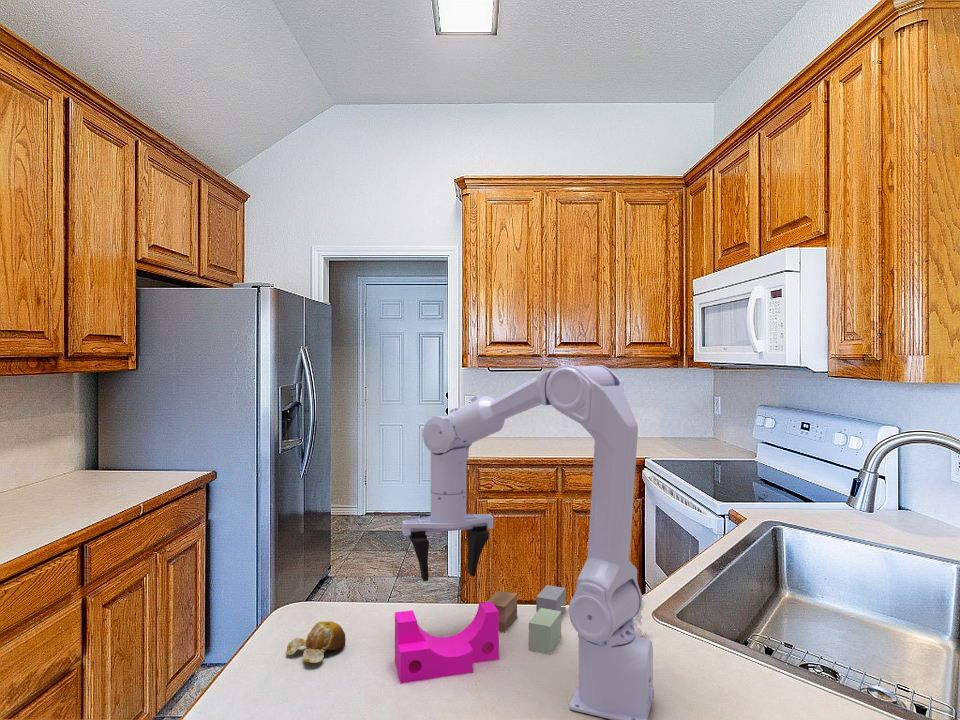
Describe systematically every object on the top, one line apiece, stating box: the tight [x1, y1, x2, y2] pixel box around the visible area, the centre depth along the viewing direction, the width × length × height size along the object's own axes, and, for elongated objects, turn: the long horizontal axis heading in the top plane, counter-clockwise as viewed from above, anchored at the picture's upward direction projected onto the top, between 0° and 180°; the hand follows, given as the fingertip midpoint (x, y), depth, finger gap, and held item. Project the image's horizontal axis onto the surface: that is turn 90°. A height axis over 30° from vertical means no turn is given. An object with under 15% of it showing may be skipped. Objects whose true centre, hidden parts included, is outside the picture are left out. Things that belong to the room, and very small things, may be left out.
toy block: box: [394, 601, 500, 684], centre depth 86 cm, size 15×6×8 cm, turn 106°
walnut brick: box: [486, 590, 518, 633], centre depth 100 cm, size 4×6×4 cm, turn 156°
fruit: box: [285, 620, 347, 664], centre depth 90 cm, size 8×8×4 cm
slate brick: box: [535, 584, 567, 618], centre depth 102 cm, size 4×6×4 cm, turn 156°
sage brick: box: [528, 608, 562, 655], centre depth 92 cm, size 4×6×4 cm, turn 156°
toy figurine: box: [634, 599, 646, 637], centre depth 94 cm, size 5×8×7 cm, turn 102°
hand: (448, 576), depth 93 cm, fingers open, 7 cm apart
